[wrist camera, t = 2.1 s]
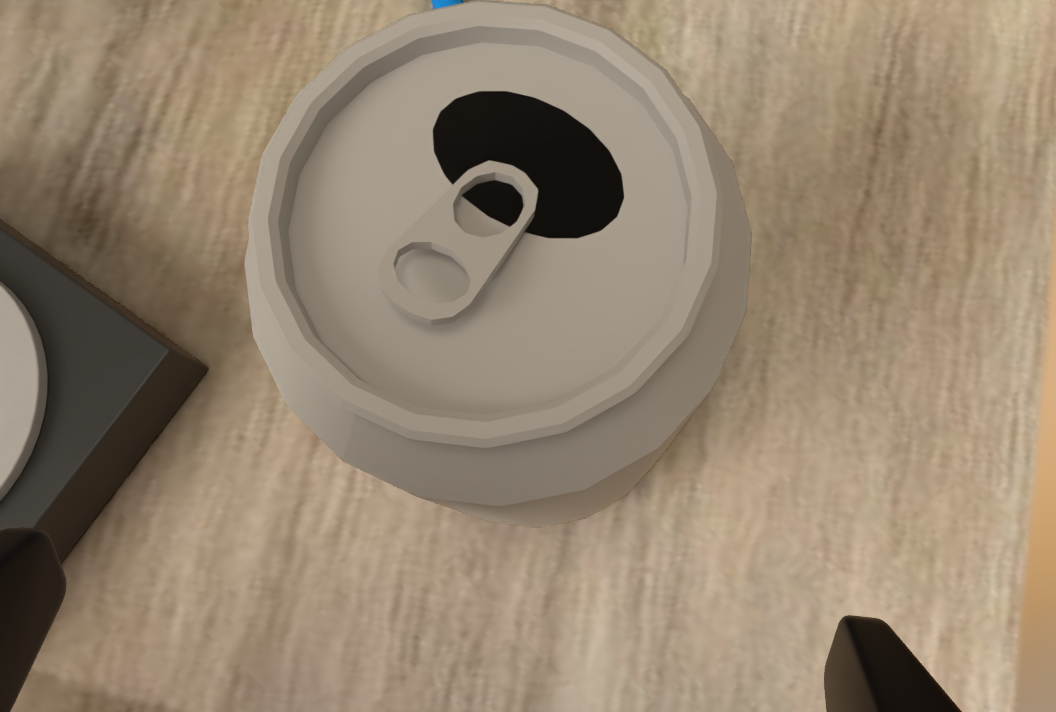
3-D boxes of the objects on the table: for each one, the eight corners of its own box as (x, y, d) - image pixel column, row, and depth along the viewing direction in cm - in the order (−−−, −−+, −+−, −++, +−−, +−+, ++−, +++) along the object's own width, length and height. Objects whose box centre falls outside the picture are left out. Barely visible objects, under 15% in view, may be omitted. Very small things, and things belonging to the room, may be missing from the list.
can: (731, 345, 22) (891, 114, 11) (575, 588, 21) (561, 629, 9) (498, 203, 24) (413, -139, 12) (340, 424, 22) (74, 284, 11)
